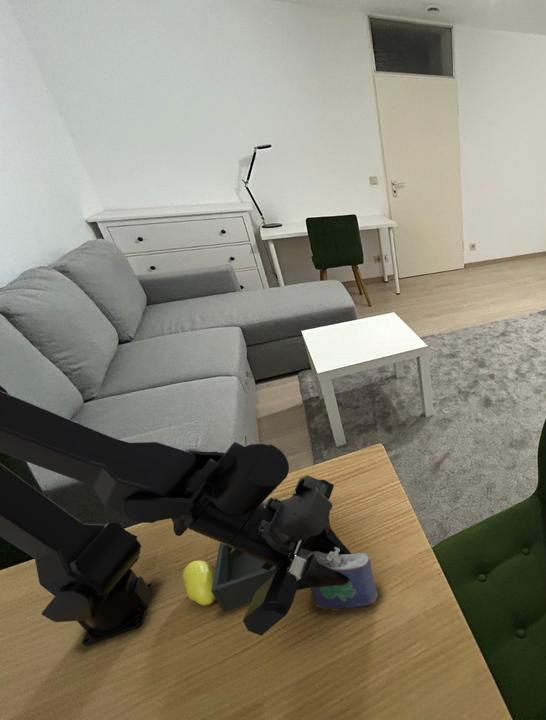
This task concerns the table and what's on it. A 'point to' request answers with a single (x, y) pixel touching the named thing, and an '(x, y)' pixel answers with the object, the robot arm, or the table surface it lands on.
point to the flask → (352, 593)
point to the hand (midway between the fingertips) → (349, 570)
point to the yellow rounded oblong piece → (199, 582)
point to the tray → (239, 576)
